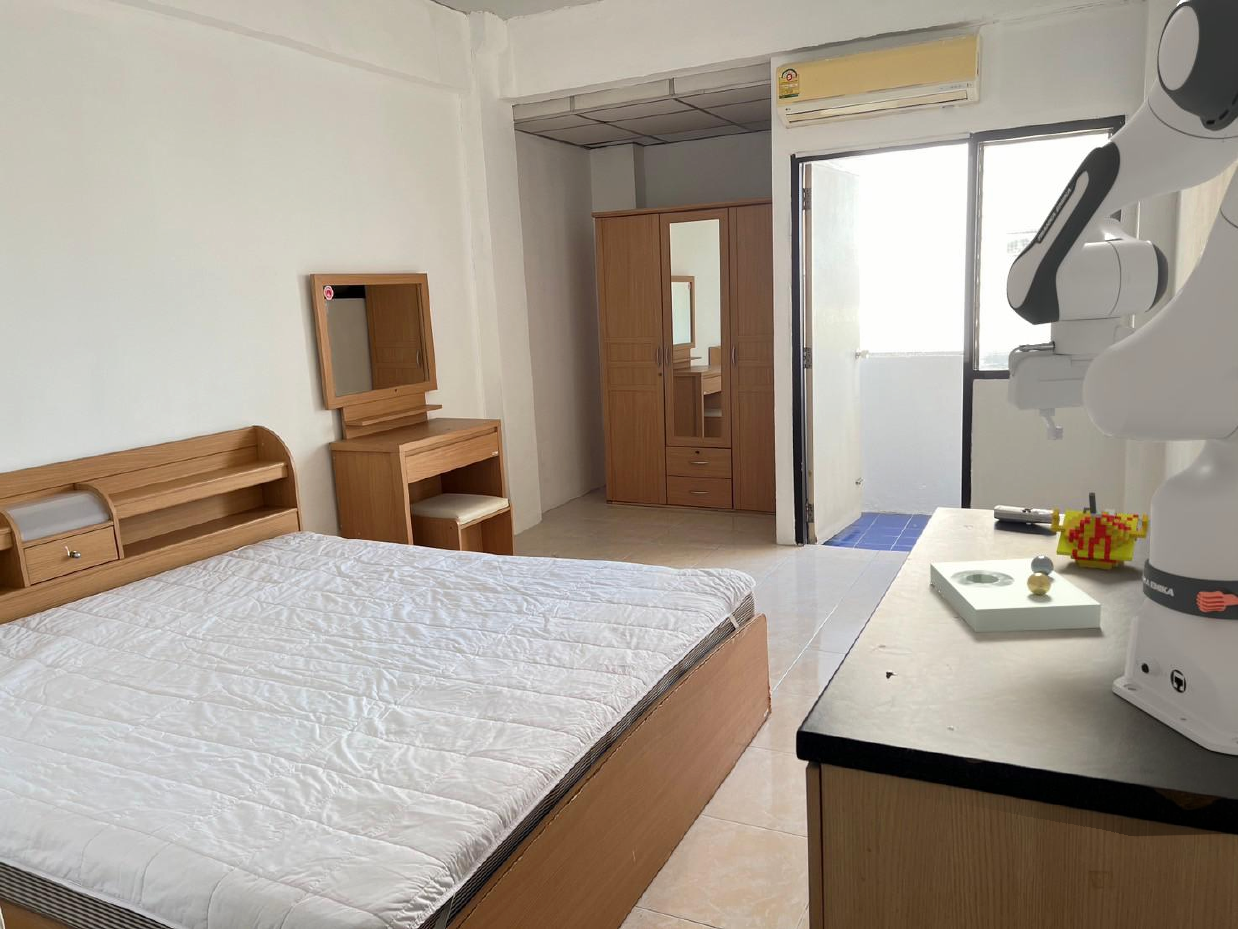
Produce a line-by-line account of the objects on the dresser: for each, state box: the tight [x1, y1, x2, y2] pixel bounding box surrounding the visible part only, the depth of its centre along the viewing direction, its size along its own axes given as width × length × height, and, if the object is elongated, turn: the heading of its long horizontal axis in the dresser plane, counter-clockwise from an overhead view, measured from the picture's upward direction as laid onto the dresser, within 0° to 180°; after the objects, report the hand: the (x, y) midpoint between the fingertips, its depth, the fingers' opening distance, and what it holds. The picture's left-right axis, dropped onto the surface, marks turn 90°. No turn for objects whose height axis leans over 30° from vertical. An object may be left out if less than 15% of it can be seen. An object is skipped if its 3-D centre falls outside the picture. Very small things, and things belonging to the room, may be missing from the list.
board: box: [929, 557, 1102, 634], centre depth 131 cm, size 22×16×3 cm
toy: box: [1050, 492, 1150, 570], centre depth 144 cm, size 14×10×15 cm
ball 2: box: [1027, 573, 1051, 595], centre depth 124 cm, size 3×3×3 cm
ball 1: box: [1031, 555, 1054, 576], centre depth 132 cm, size 3×3×3 cm
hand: (1083, 437), depth 128 cm, fingers open, 6 cm apart
